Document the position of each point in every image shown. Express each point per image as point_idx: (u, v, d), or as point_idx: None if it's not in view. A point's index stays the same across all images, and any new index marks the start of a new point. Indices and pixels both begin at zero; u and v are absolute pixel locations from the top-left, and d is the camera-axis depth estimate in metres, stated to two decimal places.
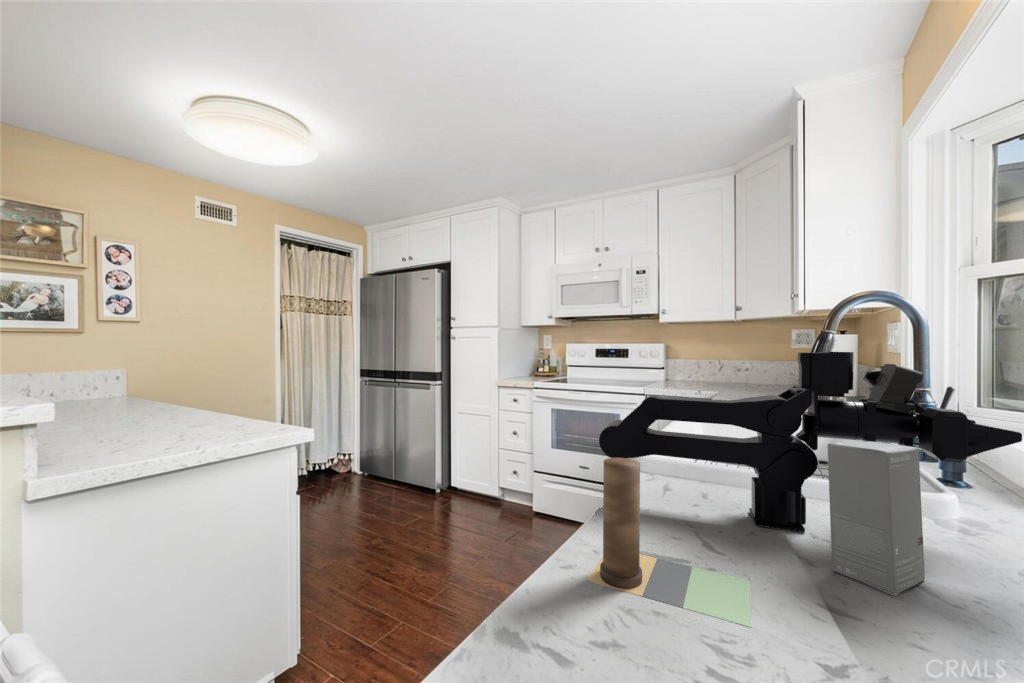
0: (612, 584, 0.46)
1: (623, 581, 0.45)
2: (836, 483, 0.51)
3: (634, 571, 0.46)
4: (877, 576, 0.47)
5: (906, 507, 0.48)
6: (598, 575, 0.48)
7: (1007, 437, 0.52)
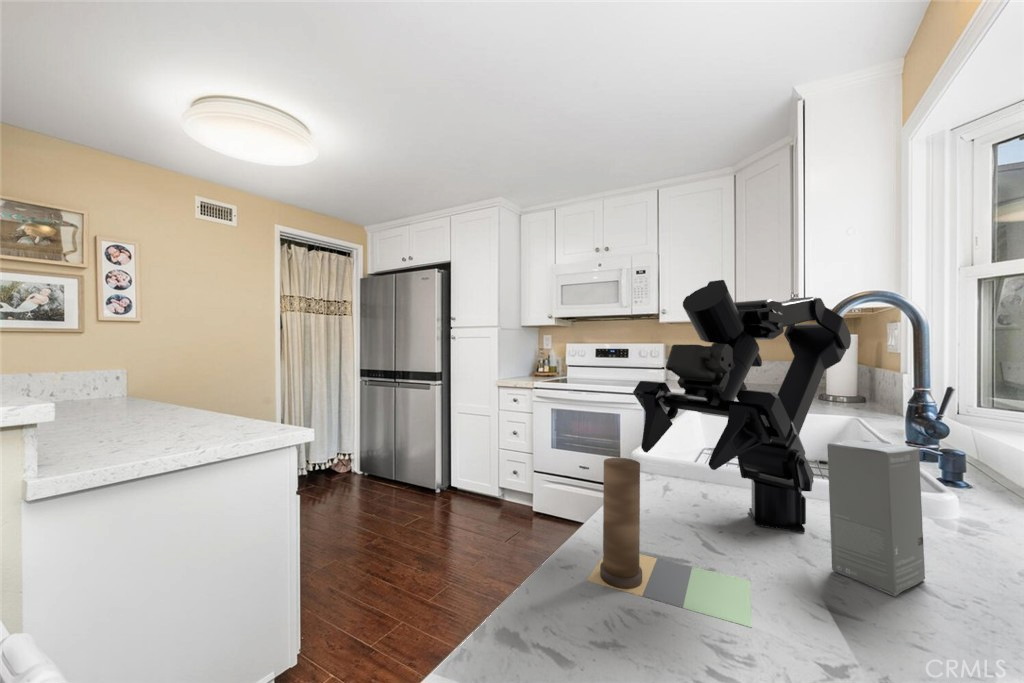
0: (612, 584, 0.46)
1: (623, 581, 0.45)
2: (836, 483, 0.51)
3: (634, 571, 0.46)
4: (877, 576, 0.47)
5: (906, 507, 0.48)
6: (598, 575, 0.48)
7: None
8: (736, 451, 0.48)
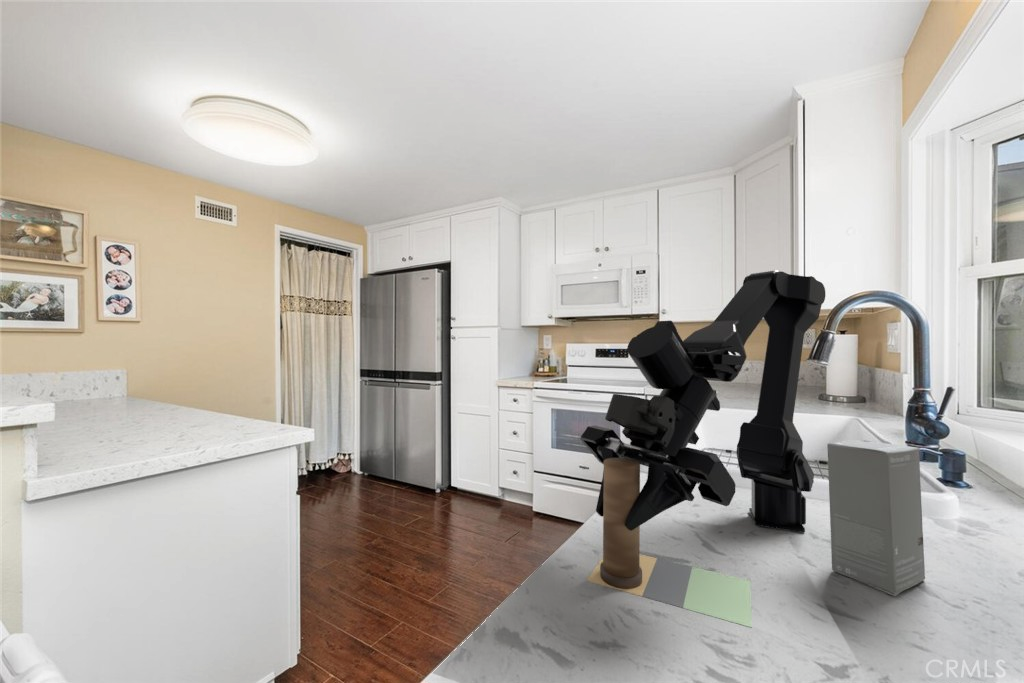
0: (612, 584, 0.46)
1: (623, 581, 0.45)
2: (836, 483, 0.51)
3: (634, 571, 0.46)
4: (877, 576, 0.47)
5: (906, 507, 0.48)
6: (598, 575, 0.48)
7: None
8: (655, 509, 0.46)
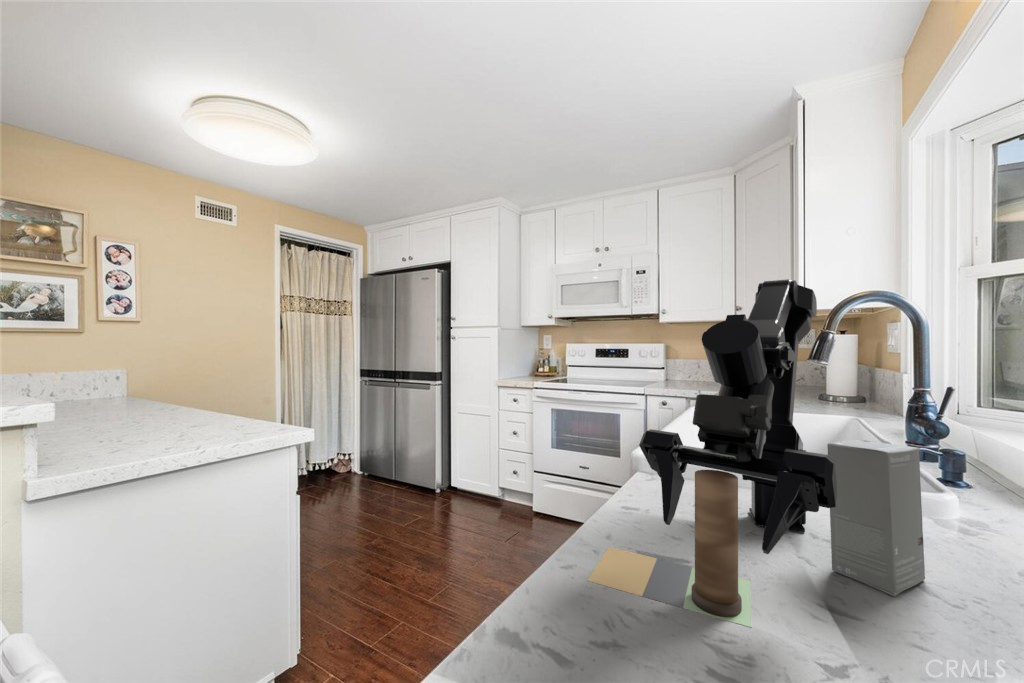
0: (718, 613, 0.41)
1: (730, 608, 0.41)
2: None
3: (737, 595, 0.42)
4: (877, 576, 0.47)
5: (906, 507, 0.48)
6: (598, 575, 0.48)
7: None
8: (785, 526, 0.40)
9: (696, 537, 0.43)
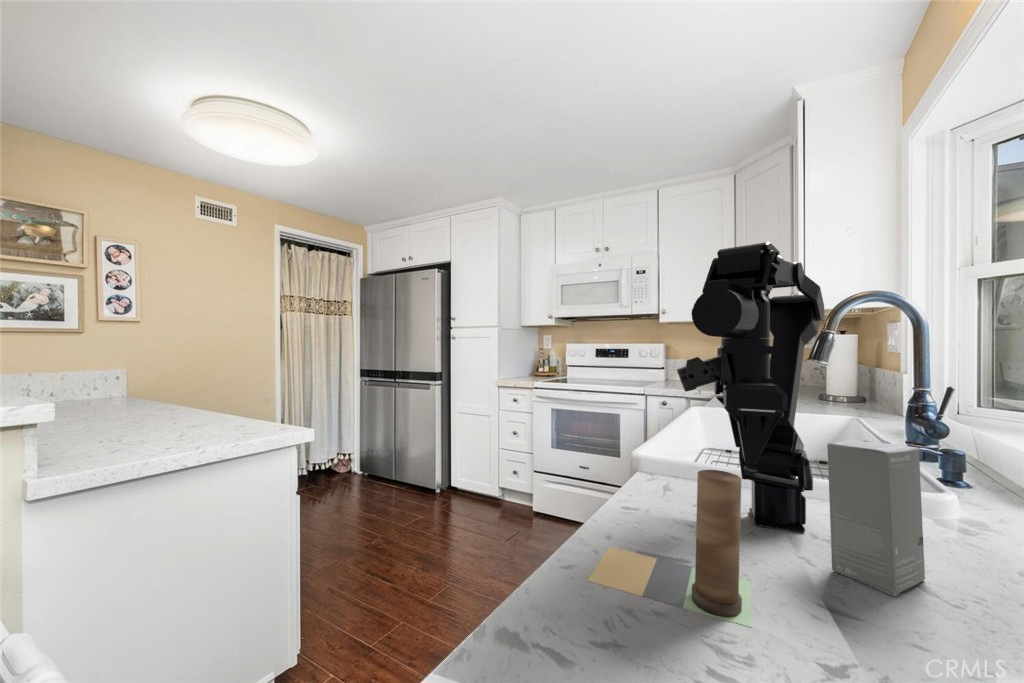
0: (718, 614, 0.41)
1: (731, 609, 0.41)
2: (836, 483, 0.51)
3: (737, 595, 0.42)
4: (877, 576, 0.47)
5: (906, 507, 0.48)
6: (598, 575, 0.48)
7: None
8: (760, 439, 0.51)
9: (698, 537, 0.43)
